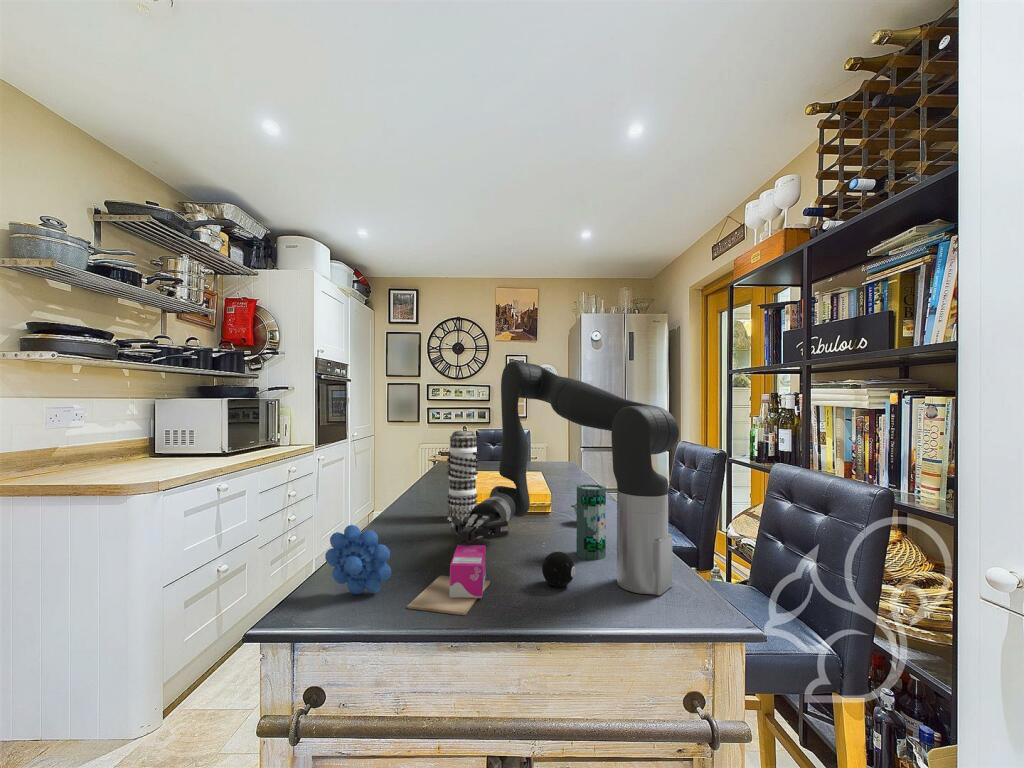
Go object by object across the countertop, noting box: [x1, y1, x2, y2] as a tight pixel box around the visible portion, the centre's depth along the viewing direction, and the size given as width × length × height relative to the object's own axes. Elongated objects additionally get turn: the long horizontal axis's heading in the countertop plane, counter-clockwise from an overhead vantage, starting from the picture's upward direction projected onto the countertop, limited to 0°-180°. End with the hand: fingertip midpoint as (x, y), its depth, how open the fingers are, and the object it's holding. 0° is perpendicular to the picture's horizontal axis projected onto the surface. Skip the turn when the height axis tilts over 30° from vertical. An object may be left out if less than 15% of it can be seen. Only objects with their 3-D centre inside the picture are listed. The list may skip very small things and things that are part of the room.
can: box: [575, 483, 607, 561], centre depth 107 cm, size 6×6×15 cm
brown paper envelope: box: [406, 575, 491, 616], centre depth 84 cm, size 14×10×1 cm
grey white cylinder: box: [446, 430, 480, 522], centre depth 138 cm, size 9×9×25 cm
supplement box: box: [449, 544, 487, 599], centre depth 87 cm, size 6×6×12 cm
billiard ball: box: [541, 551, 576, 587], centre depth 89 cm, size 6×6×6 cm
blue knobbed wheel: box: [324, 524, 392, 595], centre depth 84 cm, size 12×7×12 cm, turn 89°
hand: (465, 537), depth 91 cm, fingers closed
